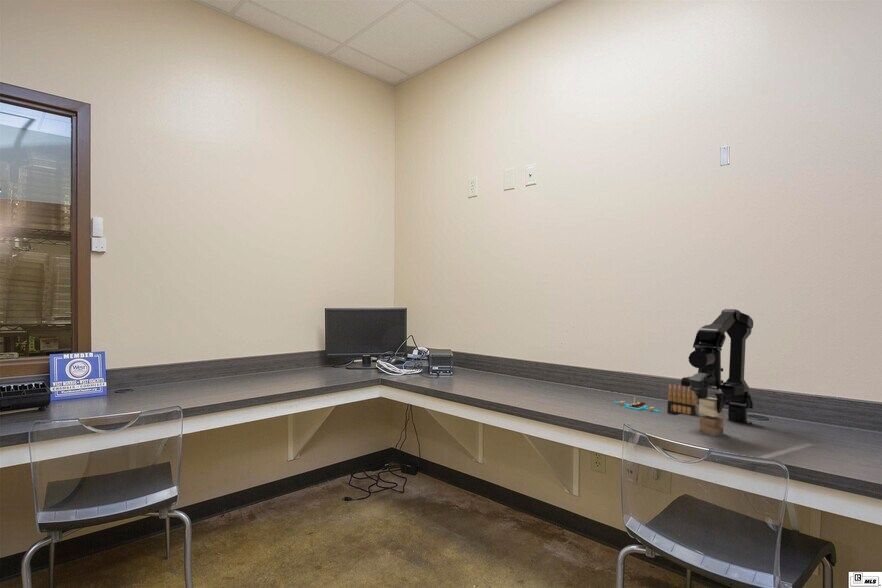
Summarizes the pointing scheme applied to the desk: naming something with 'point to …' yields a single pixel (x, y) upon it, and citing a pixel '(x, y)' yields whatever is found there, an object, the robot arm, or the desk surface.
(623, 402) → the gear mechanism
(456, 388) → the desk surface
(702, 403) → the maple block
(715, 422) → the walnut block
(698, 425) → the blueprint board
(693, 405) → the ammunition clip
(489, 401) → the desk surface
